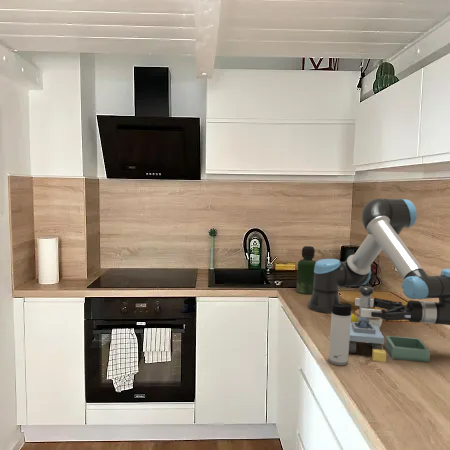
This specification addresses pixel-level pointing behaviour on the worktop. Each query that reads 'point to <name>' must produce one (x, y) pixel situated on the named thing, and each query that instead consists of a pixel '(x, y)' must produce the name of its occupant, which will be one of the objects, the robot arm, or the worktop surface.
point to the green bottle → (306, 271)
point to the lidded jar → (370, 319)
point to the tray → (407, 348)
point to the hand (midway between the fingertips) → (357, 306)
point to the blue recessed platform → (365, 336)
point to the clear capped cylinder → (364, 305)
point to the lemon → (353, 318)
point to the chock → (379, 355)
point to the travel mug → (340, 334)
